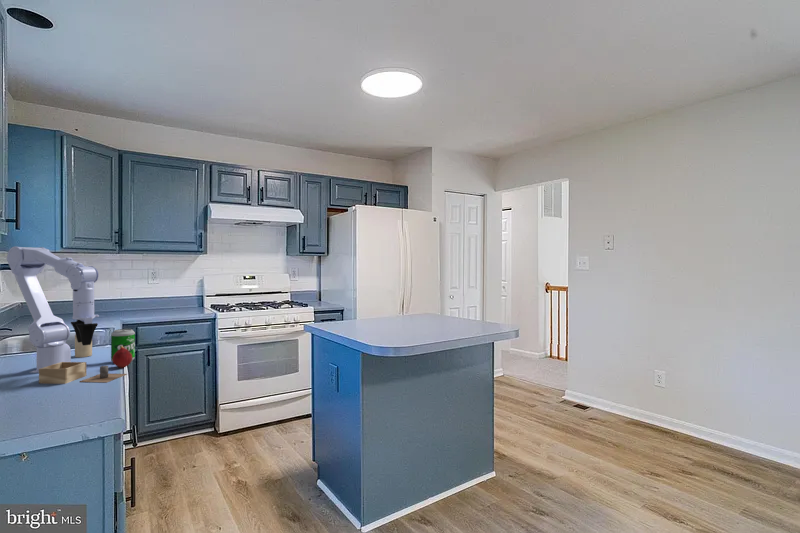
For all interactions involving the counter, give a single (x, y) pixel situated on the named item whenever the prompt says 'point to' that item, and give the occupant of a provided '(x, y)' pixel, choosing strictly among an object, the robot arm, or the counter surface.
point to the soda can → (123, 341)
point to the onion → (122, 357)
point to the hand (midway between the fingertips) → (84, 343)
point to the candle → (82, 349)
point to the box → (62, 372)
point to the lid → (103, 376)
